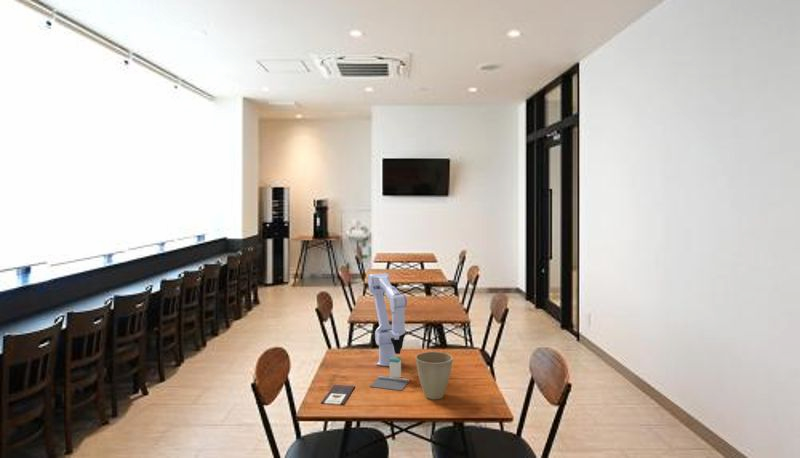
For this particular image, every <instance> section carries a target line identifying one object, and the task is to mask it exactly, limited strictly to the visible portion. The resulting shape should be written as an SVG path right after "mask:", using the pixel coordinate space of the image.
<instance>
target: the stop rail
mask: <svg viewBox="0 0 800 458" xmlns="http://www.w3.org/2000/svg"><path fill="white" fill-rule="evenodd" d="M377 379H383V380H392V381H400V382H408V383H409V382H410V379H409V378H401V377H400V378H396V377H390V376H386V375H385V376H384V375H378V376H377ZM377 379H376V380H377Z"/></svg>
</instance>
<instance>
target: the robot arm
mask: <svg viewBox="0 0 800 458" xmlns="http://www.w3.org/2000/svg"><path fill="white" fill-rule="evenodd" d="M367 285H368V289H369V292H370V293H371V294H372V296H373V299H374V304H375V310H376V315H377V320H378V325H379V326H378V327H377V328H376V329H375V331H374V340H375V342H376V343H375V344H376V345H377V346H378V362H377V363H376V364H375V365H376V366H383V367H390V362H389V359H390V358H391V357H392V356H394V357H397V355H400V354H401V350H402V348H403V346H404V345H403V344H404V339H405V336H406V333H407V332H406V330H405V327H406V325H405V324H406V322H405V320H406V317H405V316H406V314H405V313H406V311H405V310H406V307H407V304H408V300H407V296H406V294H403V293H401V292H400V291H399V290H398V289H397V287H395V286H394V285H392V284H391V278H390V274H389V273H387V272H385V273H374V274H373V273H370V274H369V275H368V277H367ZM384 293H385V294H384ZM384 295H385V296H386V297H387V298H388V301H389V306H390V311H391V324H390V320H389V316H388V311H387V306H386V301H385V297H384Z"/></svg>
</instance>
